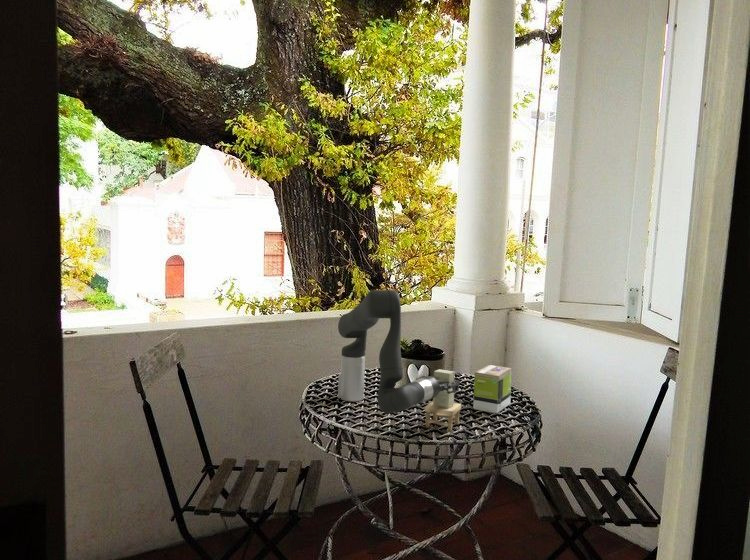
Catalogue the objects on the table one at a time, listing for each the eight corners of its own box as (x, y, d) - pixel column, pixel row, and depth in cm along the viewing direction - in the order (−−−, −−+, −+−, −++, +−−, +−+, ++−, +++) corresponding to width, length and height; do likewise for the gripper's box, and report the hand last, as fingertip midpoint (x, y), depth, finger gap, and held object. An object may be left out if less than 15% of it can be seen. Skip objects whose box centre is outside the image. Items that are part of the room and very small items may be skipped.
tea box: (486, 400, 256) (488, 363, 255) (510, 404, 251) (513, 367, 250) (472, 409, 244) (474, 370, 242) (497, 414, 238) (499, 375, 237)
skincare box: (454, 405, 223) (455, 371, 221) (448, 408, 219) (450, 373, 218) (437, 402, 226) (439, 368, 225) (431, 405, 222) (433, 370, 221)
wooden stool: (423, 426, 221) (424, 406, 220) (433, 418, 230) (434, 399, 229) (451, 431, 217) (452, 411, 216) (460, 423, 226) (461, 404, 225)
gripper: (442, 382, 205) (466, 373, 219) (405, 374, 214) (430, 366, 227) (441, 405, 206) (464, 395, 219) (404, 396, 215) (429, 387, 228)
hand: (447, 380), depth 223 cm, fingers open, 8 cm apart
